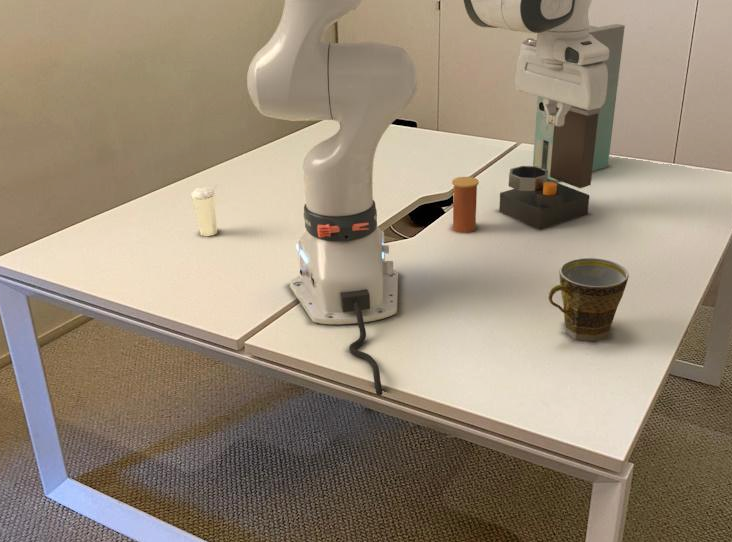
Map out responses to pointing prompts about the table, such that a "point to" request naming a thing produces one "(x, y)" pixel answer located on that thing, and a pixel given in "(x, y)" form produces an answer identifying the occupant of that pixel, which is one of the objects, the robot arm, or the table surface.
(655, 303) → the table surface
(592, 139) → the coffee maker
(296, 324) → the table surface
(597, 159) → the device
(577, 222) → the table surface
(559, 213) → the base
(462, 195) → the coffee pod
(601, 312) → the ceramic cup
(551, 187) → the power button
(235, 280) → the table surface
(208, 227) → the milkshake
